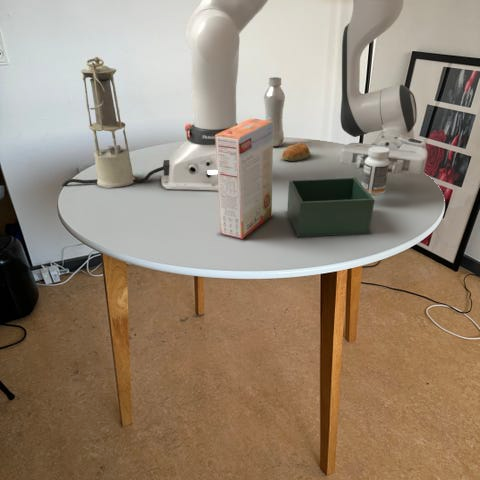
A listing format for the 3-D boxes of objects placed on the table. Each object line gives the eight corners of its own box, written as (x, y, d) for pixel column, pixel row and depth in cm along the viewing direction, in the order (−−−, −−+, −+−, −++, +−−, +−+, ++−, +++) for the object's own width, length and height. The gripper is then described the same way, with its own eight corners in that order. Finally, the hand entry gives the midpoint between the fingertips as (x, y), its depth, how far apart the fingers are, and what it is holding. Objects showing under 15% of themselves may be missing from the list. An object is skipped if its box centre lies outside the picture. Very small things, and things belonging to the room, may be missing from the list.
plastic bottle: (284, 148, 149) (287, 79, 138) (263, 148, 150) (264, 80, 138) (283, 142, 155) (285, 76, 143) (263, 142, 155) (264, 76, 143)
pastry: (294, 164, 136) (295, 150, 134) (276, 160, 140) (276, 147, 138) (311, 156, 142) (312, 143, 140) (293, 152, 146) (294, 140, 143)
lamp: (137, 174, 130) (120, 53, 113) (130, 191, 120) (109, 61, 102) (101, 175, 130) (78, 54, 112) (90, 192, 120) (62, 61, 102)
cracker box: (249, 211, 108) (249, 117, 96) (272, 216, 106) (275, 120, 93) (218, 234, 99) (213, 132, 86) (242, 240, 96) (241, 136, 84)
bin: (297, 237, 97) (300, 203, 93) (287, 212, 108) (288, 180, 103) (368, 233, 98) (374, 199, 94) (351, 209, 109) (355, 177, 104)
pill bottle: (385, 188, 111) (393, 146, 105) (383, 197, 107) (391, 153, 101) (361, 186, 113) (368, 144, 107) (358, 194, 108) (365, 151, 102)
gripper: (349, 133, 117) (333, 148, 107) (433, 143, 110) (424, 159, 100) (346, 158, 121) (330, 174, 111) (426, 169, 114) (417, 187, 104)
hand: (375, 167), depth 105 cm, fingers closed on pill bottle, 5 cm apart
